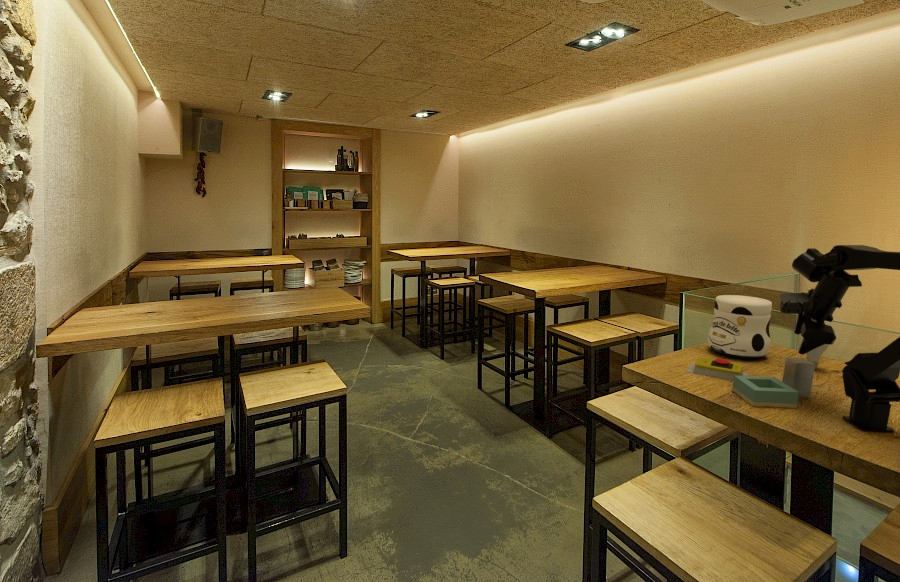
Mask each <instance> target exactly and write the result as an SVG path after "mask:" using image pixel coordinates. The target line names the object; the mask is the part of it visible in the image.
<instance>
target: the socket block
mask: <svg viewBox="0 0 900 582" xmlns="http://www.w3.org/2000/svg"><path fill="white" fill-rule="evenodd" d="M782 381H783V380H782ZM782 381H781V380H780V379H779V378H777V377H776V376H759V375H758V376H757V375H756V376H754V375H748V376H735V375H734V380H733V381H732V388H731V389H732V391H733V392H734V393H735V394H736V395H738V396H741V398H742V399H743V400H745V401H746V402H747V403H748V404H749V403H750V405H751V406H752V407H762V406H770V407H769V408H785V407H787V408H788V409H790V408H791V409H792V408H793V409H797V408H798V402H799V401H798V400H799V398H798V396H799V392H798V391H796V390H795V389H793V388H792V387H790V386H788V385H787V384H785V383H783V382H782ZM772 406H773V407H772ZM787 408H786V409H787Z"/></svg>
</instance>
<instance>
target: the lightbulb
mask: <svg viewBox="0 0 900 582" xmlns="http://www.w3.org/2000/svg"><path fill="white" fill-rule="evenodd" d="M829 346H830V345H829V344H824V345H822V346H819V347H817V348H815V349H813V350H811V351H809V352H807V353H805V355H806V358H805V359H807V360H809V361H811V362H813V363H815V369H817V368H818V365H819V362H820V361H821V357H822V356H823V354H824V353H825V352H826V351H827V350H828V347H829Z"/></svg>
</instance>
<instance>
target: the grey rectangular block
mask: <svg viewBox="0 0 900 582" xmlns="http://www.w3.org/2000/svg"><path fill="white" fill-rule="evenodd" d="M815 369H816V368H815V363H813V362H811V361H809V360H807V359H806V358H804V357H785V361H784V368H783V374H782V375H783V376H782V382H783V383H785V384H787V385H788V386H790V387H792V388H793V389H795V390H796V391H798V392H799V396H798V399H799V398H800V399H810V398H811V394H812V387H813V380H814V374H815Z"/></svg>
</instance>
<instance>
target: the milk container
mask: <svg viewBox="0 0 900 582" xmlns="http://www.w3.org/2000/svg"><path fill="white" fill-rule="evenodd" d="M772 307H773V304H772V301H771V300H769V299H765V298H761V297H756V296H749V295H738V294H722V295H717V296H716V297H715V301H714V308H713V318H712V319H713V320H712V323H711V326H710V327H709V330H708V333H707V342H708V346H709V348H710V349H711V350H713V351H714V352H716V353H718V354H722V355H723V356H729V357H733V358H738V359H758V358H763V357H765V356H766V355H767V354H768V353H769V351H770V348H771V343H772V341H771V335H770V324H771V317H772V310H773V308H772Z"/></svg>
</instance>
